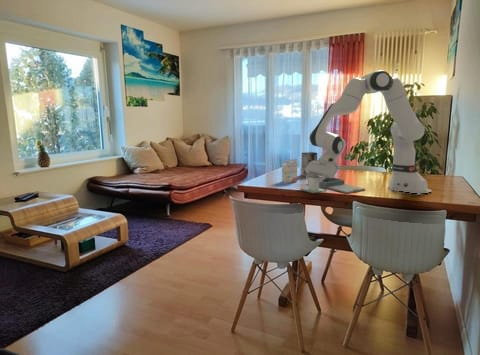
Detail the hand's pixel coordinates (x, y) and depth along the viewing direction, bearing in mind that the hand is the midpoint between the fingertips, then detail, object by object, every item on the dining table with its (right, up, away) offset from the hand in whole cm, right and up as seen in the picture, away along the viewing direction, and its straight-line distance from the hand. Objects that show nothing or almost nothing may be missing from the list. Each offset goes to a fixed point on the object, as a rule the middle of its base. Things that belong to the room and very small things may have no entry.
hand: (313, 180), depth 190 cm
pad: (+1, -6, +1) cm, 6 cm away
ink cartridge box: (-10, -1, +25) cm, 27 cm away
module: (+1, -5, +1) cm, 5 cm away
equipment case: (+15, -4, +10) cm, 19 cm away
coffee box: (+7, +3, +47) cm, 48 cm away
